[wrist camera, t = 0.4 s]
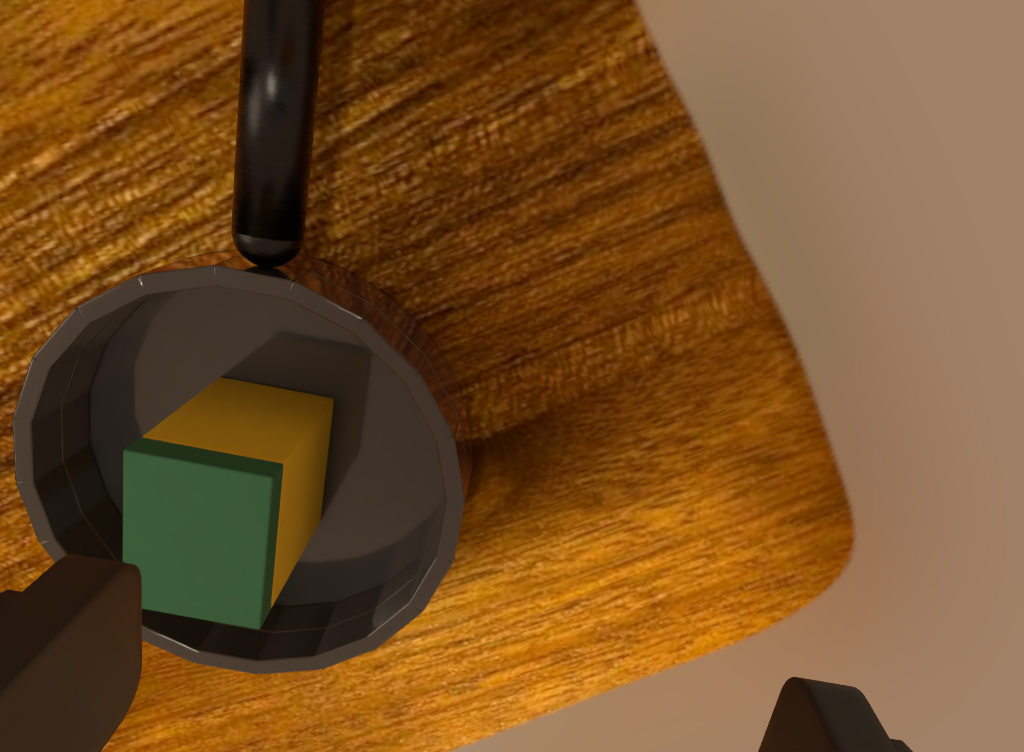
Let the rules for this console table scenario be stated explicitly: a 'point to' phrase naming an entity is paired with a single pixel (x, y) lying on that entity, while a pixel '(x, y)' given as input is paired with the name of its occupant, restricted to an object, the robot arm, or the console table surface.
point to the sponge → (225, 499)
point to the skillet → (277, 363)
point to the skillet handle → (275, 127)
